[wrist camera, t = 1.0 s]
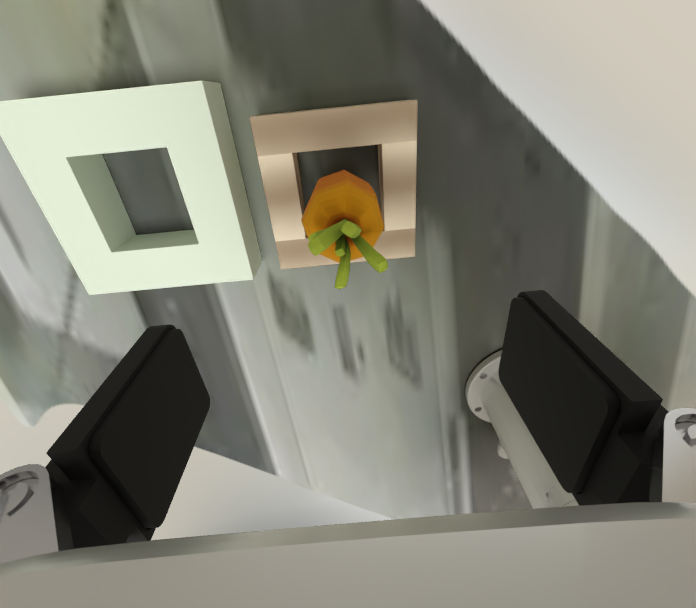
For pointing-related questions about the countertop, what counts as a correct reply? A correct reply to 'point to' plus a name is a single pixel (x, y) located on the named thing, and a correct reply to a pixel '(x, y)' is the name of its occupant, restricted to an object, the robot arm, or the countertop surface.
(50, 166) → the pale green square frame
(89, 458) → the robot arm
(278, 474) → the countertop surface
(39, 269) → the countertop surface
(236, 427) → the countertop surface
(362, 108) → the socket block
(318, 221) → the carrot
